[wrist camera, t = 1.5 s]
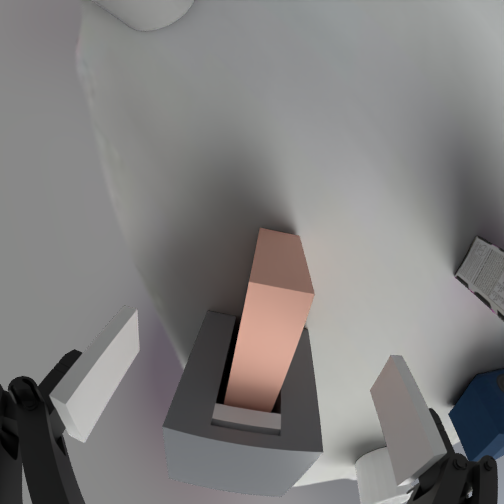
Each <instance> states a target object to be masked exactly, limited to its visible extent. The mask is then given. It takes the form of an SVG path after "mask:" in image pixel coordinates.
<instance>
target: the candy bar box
mask: <svg viewBox="0 0 504 504" xmlns="http://www.w3.org/2000/svg"><path fill="white" fill-rule="evenodd" d="M455 278H456V279H457V280H459V281H460V282H461V283H462V284H463V285H464V286H466V287H467V288H468V289H469V290H470V291H471V292H472V293H473V294H475V295H476V296H477V297H478V298H479V299H480V300H481V301H482V302H483V303H484V304H485V305H487V306H488V307H489V308H490V309H491V310H492V311H493V312H494V313H495V314H496V315H497V316H498V317H499V318H500V319H501V320H502V321H503V322H504V250H503V249H501V248H499V247H497V246H496V245H494V244H492V243H490V242H488V241H487V240H485V239H483V238H481V237H479V236H476V237H475V239H474V241H473V243H472V244H471V246H470V249H469V251H468V253H467V255H466V257H465V259H464V261H463V262H462V264H461V266H460V267H459V269H458V271H457V273H456V275H455Z"/></svg>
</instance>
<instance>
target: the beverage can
mask: <svg viewBox="0 0 504 504" xmlns="http://www.w3.org/2000/svg"><path fill="white" fill-rule="evenodd" d="M91 1H92V2H94V3H96V4H97V5H99V6H100V7H102V8H103V9H105V10H106V11H108V12H109V13H111V14H112V15H114V16H115V17H117V18H118V19H120V20H121V21H122V22H124V23H125V24H127V25H128V26H129V27H131V28H133V29H135V30H139V31H153V30H157V29H161V28H163V27H166V26H168V25H170V24H172V23H174V22H175V21H177V20H178V19H180V18H181V17H182V16H183V15H184V14H185V13H186V12H187V11H188V10H189V9H190V7H191V6H192V4H193V2H194V0H91Z"/></svg>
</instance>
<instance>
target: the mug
mask: <svg viewBox="0 0 504 504" xmlns="http://www.w3.org/2000/svg"><path fill="white" fill-rule="evenodd" d="M355 468H356V475H357V482H358V489H359V496H360V503H361V504H402V503H404V502H406V501H407V500H409V498H410V496H411V494H412V492H413V491H411V492H410V493H408V494H406V493H407V491H408V490H409V489H411V488H412V487H414V486H411V484H407V485H402V486H397V483H396V479H395V475H394V471H393V467H392V463H391V460H390V456H389V452H388V449H387V447H384V448H380V449H377V450H374V451H371V452H369V453H367V454H365V455H363V456H362V457H360V458H359V459H358V460H357V461H356V463H355Z"/></svg>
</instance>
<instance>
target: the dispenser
mask: <svg viewBox="0 0 504 504" xmlns="http://www.w3.org/2000/svg"><path fill="white" fill-rule="evenodd" d="M235 319H236V317H235V316H230V315H226V314H221V313H216V312H212V311H208V312H207V314H206V317H205V319H204V321H203V324H202V326H201V329H200V331H199V334H198V336H197V339H196V341H195V344H194V346H193V349H192V352H191V354H190V357H189V359H188V362H187V364H186V367H185V369H184V372H183V375H182V377H181V380H180V382H179V385H178V387H177V390H176V393H175V395H174V398H173V400H172V403H171V406H170V408H169V411H168V414H167V416H166V419H165V421H164V424H163V437H164V445H165V453H166V461H167V468H168V475H169V478H170V479H173V480H177V481H181V482H184V483H188V484H193V485H197V486H202V487H207V488H211V489H217V490H222V491H228V492H235V493H242V494H250V495H260V496H273V497H282V496H283V495H284V494H285V493H286V492H287V491H288V490H289V489H290V488H291V487H292V486H293V485H294V484H295V483H296V482H297V481H298V480H299V479H300V478H301V477H302V476H303V475H304V473H305V472H306V471H307V470H308V469H309V468H310V467H311V466H312V465H313V463H314V462H315V461H316V460H317V459H318V458H319V456H320V455H321V454H322V453H323V445H322V435H321V425H320V416H319V407H318V399H317V391H316V383H315V375H314V368H313V360H312V353H311V346H310V339H309V332H308V330H306V329H303V331H302V333H301V336H300V339H299V342H298V345H297V347H296V350H295V353H294V355H293V358H292V361H291V363H290V366H289V369H288V371H287V374H286V377H285V379H284V382H283V384H282V387H281V389H280V392H279V394H278V397H277V399H276V401H275V404H274V406H273V409H272V411H271V413H269V412H262V411H255V410H249V409H243V408H238V407H232V406H227V405H223V404H224V400H225V395H226V390H227V385H228V380H229V378H224V376H225V371H226V366H227V361H228V355H229V350H230V345H231V340H232V334H233V329H234V324H235Z"/></svg>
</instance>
